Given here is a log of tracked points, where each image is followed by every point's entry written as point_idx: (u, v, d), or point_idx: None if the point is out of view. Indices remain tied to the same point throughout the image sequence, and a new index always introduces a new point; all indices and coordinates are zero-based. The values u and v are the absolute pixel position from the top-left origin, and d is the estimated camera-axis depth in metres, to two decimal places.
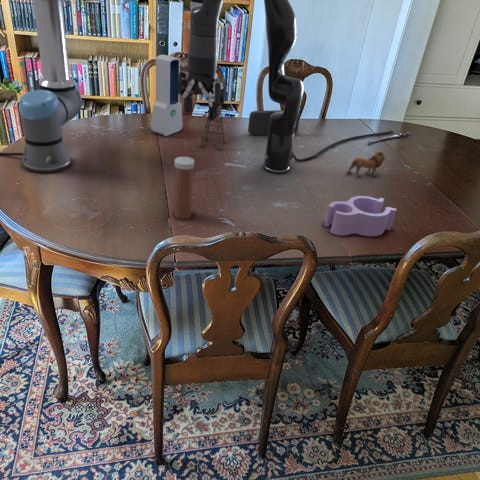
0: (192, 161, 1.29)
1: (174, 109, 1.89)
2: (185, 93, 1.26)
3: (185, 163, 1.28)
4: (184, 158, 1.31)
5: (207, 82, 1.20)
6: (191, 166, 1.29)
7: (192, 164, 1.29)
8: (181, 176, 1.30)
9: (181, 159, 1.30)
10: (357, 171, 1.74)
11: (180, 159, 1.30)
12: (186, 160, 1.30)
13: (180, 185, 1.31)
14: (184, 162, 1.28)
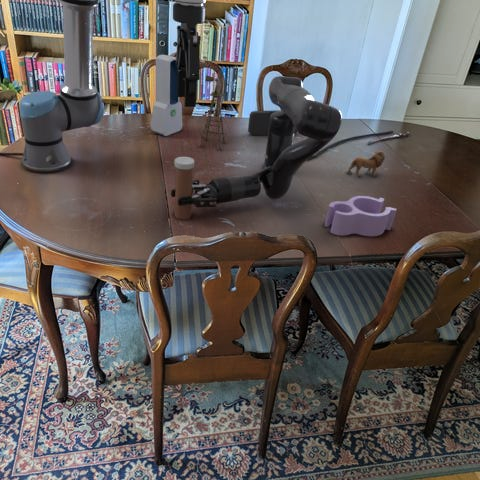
0: (192, 161, 1.29)
1: (174, 109, 1.89)
2: None
3: (185, 163, 1.28)
4: (184, 158, 1.31)
5: None
6: (191, 166, 1.29)
7: (192, 164, 1.29)
8: (181, 176, 1.30)
9: (181, 159, 1.30)
10: (357, 171, 1.74)
11: (180, 159, 1.30)
12: (186, 160, 1.30)
13: (180, 185, 1.31)
14: (184, 162, 1.28)
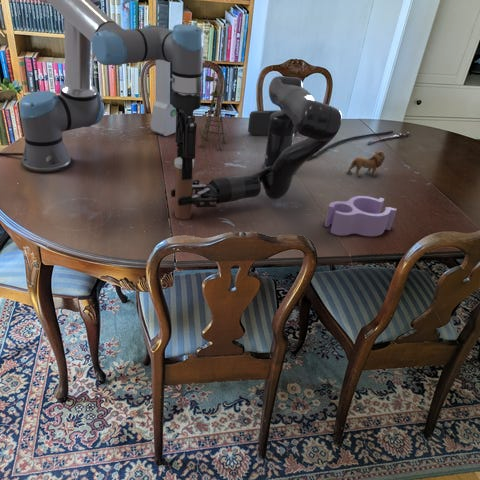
0: (192, 161, 1.29)
1: (174, 109, 1.89)
2: None
3: None
4: None
5: None
6: None
7: (192, 164, 1.29)
8: (181, 176, 1.30)
9: (181, 159, 1.30)
10: (357, 171, 1.74)
11: (180, 159, 1.30)
12: None
13: (180, 185, 1.31)
14: None
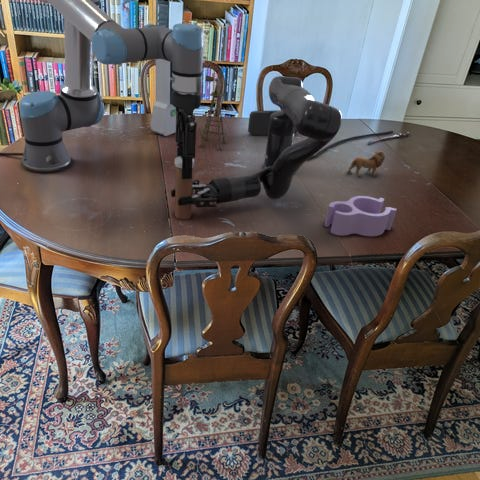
0: None
1: (174, 109, 1.89)
2: None
3: None
4: (179, 159, 1.30)
5: None
6: None
7: None
8: (181, 176, 1.30)
9: (181, 160, 1.29)
10: (357, 171, 1.74)
11: (181, 161, 1.29)
12: None
13: (180, 185, 1.31)
14: None
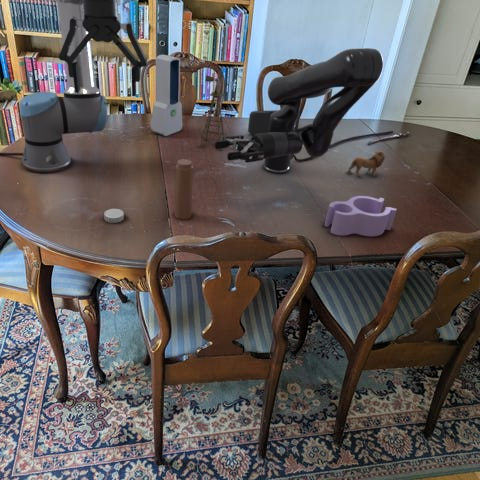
0: (106, 215, 1.32)
1: (174, 109, 1.89)
2: None
3: (108, 211, 1.34)
4: (117, 214, 1.33)
5: None
6: (104, 215, 1.33)
7: (104, 215, 1.33)
8: (181, 176, 1.30)
9: (117, 212, 1.34)
10: (357, 171, 1.74)
11: (118, 212, 1.34)
12: (112, 213, 1.33)
13: (180, 185, 1.31)
14: (110, 211, 1.34)
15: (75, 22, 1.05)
